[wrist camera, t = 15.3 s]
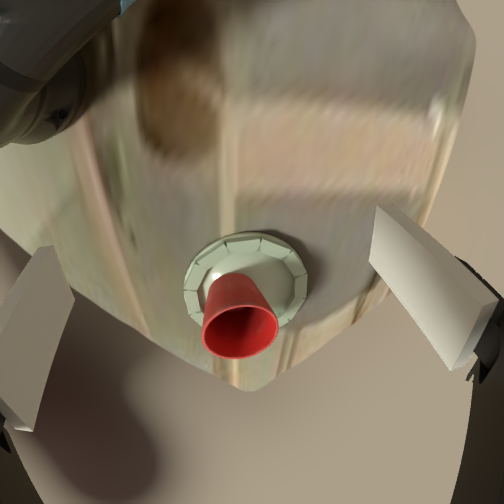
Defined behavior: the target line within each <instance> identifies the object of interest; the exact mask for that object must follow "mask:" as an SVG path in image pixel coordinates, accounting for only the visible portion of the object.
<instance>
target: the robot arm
mask: <svg viewBox="0 0 504 504" xmlns="http://www.w3.org/2000/svg"><path fill="white" fill-rule="evenodd" d="M135 1H136V0H0V148H2V147H4V146H5V145H7V144H9V143H17V144H25V145H28V144H36V143H40V142H42V141H45V140H47V139H49V138H51V137H53V136H55V135H56V134H58V133H59V132H61V131H62V130H63V129H64V128H65V127H66V126H67V125H68V124H69V123H70V122H71V120H72V119H73V118H74V116H75V115H76V113H77V111H78V109H79V107H80V105H81V102H82V99H83V95H84V91H85V82H86V76H85V68H84V64H83V61H82V58H81V56H80V54H79V52H78V51H79V50H80V49H81V48H82V47H83V46H84V45H85V44H86V43H87V42H88V41H89V40H90V39H91V38H92V37H93V36H95V35H96V34H97V33H98V32H99V31H100V30H101V29H102V28H104V27H105V26H106V25H107V24H108V23H109V22H111V21H112V20H113V19H114V18H116V17H120V16H122V15H123V14H124V12H125V11H126V9H127V8H128V7H129V6H130V5H132V4H133V3H134V2H135ZM369 262H370V264H371V265H372V266H373V267H374V269H375V270H376V271H377V272H378V274H379V275H380V276H381V277H382V279H383V280H384V281H385V282H386V284H387V285H388V286H389V288H390V289H391V290H392V291H393V293H394V294H395V295H396V297H397V298H398V299H399V301H400V302H401V303H402V304H403V306H404V307H405V308H406V310H407V311H408V312H409V314H410V315H411V316H412V318H413V319H414V321H415V322H416V323H417V325H418V326H419V327H420V329H421V330H422V331H423V333H424V334H425V336H426V337H427V338H428V340H429V341H430V343H431V344H432V346H433V347H434V348H435V350H436V351H437V353H438V354H439V356H440V357H441V358H442V360H443V361H444V363H445V364H446V366H447V367H448V369H449V370H450V371H452V370H454V369H457V368H459V367H461V366H464V365H465V364H467V362H468V361H469V359H470V357H471V355H472V353H473V352H475V354H476V355H477V356H478V359H477V361H476V362H475V364H474V366H473V367H472V369H471V371H470V372H469V374H468V376H467V378H466V381H469V379H470V378H471V376H472V375H473V374H474V380H473V381H472V382H473V391H472V400H471V408H470V416H469V422H468V429H467V435H466V440H465V446H464V451H463V456H462V460H461V465H460V469H459V473H458V477H457V482H456V485H455V489H454V492H453V496H452V499H451V503H450V504H504V298H503V297H502V296H501V295H500V294H499V293H497V291H496V290H495V289H494V288H493V287H492V286H491V285H490V284H489V283H488V282H487V281H485V279H482V277H481V276H480V275H479V274H478V273H476V272H475V270H474V269H473V268H472V267H471V266H470V265H469V264H468V263H466V262H465V261H463V260H461V259H459V258H458V257H456V256H453V255H452V254H451V253H450V252H449V251H448V250H447V249H446V248H444V247H443V246H442V245H441V244H440V243H439V242H437V241H436V240H435V239H434V238H433V237H432V236H431V235H430V234H428V233H427V232H426V231H425V230H424V229H423V228H421V227H420V226H419V225H418V224H417V223H415V222H414V221H413V220H412V219H411V218H409V217H408V216H407V215H406V214H404V213H403V212H402V211H401V210H399V209H398V208H397V207H396V206H394V205H393V204H380V205H377V206H376V215H375V223H374V230H373V237H372V244H371V251H370V257H369ZM74 301H75V299H74V297H73V294H72V292H71V289H70V287H69V285H68V282H67V280H66V277H65V275H64V272H63V270H62V267H61V264H60V262H59V259H58V256H57V254H56V251H55V248H54V245H52V246H46V247H40V248H38V249H37V251H36V252H35V254H34V255H33V256H32V258H31V259H30V261H29V262H28V264H27V265H26V267H25V268H24V270H23V271H22V273H21V274H20V276H19V277H18V279H17V280H16V282H15V283H14V285H13V287H12V288H11V290H10V291H9V293H8V295H7V296H6V298H5V299H4V301H3V303H2V304H1V306H0V504H44V503H43V501H42V500H41V498H40V496H39V495H38V493H37V491H36V489H35V487H34V485H33V484H32V482H31V480H30V478H29V476H28V474H27V472H26V470H25V468H24V466H23V464H22V462H21V460H20V458H19V455H18V453H17V451H16V449H15V447H14V445H13V442H12V440H11V437H10V435H9V433H8V432H7V430H6V429H5V428H4V427H3V426H4V422H5V419H6V420H7V421H8V422H9V423H10V424H11V425H12V426H13V427H14V428H15V429H18V430H25V431H33V429H34V425H35V421H36V417H37V413H38V409H39V405H40V401H41V397H42V394H43V391H44V387H45V384H46V380H47V377H48V374H49V371H50V368H51V364H52V361H53V358H54V355H55V352H56V349H57V346H58V344H59V341H60V338H61V335H62V332H63V330H64V327H65V324H66V322H67V319H68V316H69V314H70V311H71V308H72V306H73V303H74Z"/></svg>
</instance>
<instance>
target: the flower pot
mask: <svg viewBox="0 0 504 504" xmlns="http://www.w3.org/2000/svg"><path fill="white" fill-rule="evenodd" d="M278 329H279V323H278V319H277V317H276V315H275V313H274V312H273V310H272V308H271V307H270V305H269V304H268V302H267V301H266V299H265V298H264V296H263V295H262V293H261V292H260V290H259V289H258V287H257V286H256V285H255V283H254V282H253V281H252V280H251V279H250V278H249V277H248V276H246V275H243V274H239V273H231V274H225V275H222V276H220V277H219V278H217V279H216V280H215V281H214V282H213V283H212V284H211V286H210V288H209V291H208V295H207V300H206V305H205V311H204V317H203V324H202V334H201V337H202V342H203V344H204V346H205V348H206V349H207V350H208V351H209V352H211V353H212V354H214V355H216V356H218V357H221V358H226V359H242V358H247V357H251V356H254V355H256V354H258V353H260V352H262V351H263V350H265V349H266V348H267V347H269V346H270V345H271V344H272V342H273V341H274V340H275V338H276V336H277V334H278Z"/></svg>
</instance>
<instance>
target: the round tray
mask: <svg viewBox="0 0 504 504" xmlns="http://www.w3.org/2000/svg"><path fill="white" fill-rule="evenodd" d="M231 273H239V274H243V275H246V276H248V277H249V278H250V279H251V280H252V281H253V282H254V283H255V285H256V286H257V287H258V289H259V290H260V292H261V293H262V295H263V296H264V298H265V299H266V301H267V302H268V304H269V305H270V307H271V308H272V310H273V312H274V313H275V315H276V317H277V319H278V323H279V327H281V326H282V325H284V324H286V323H287V322H289V319H290V320H291V319H292V318H293V316H294V315H295V314H296V312H297V311H298V309H299V308H300V307H301V305H302V304H303V302H304V301H305V298H306V293H307V276H308V274H307V271H306V269H305V267H304V265H303V263H302V261H301V259H300V257H299V255H298V254H297V252H296V251H295V250H294V249H293V248H292V247H291V246H290V245H289V244H288V243H286V242H285V241H283V240H282V239H279V238H277V237H275V236H272V235H269V234H265V233H260V232H241V233H235V234H231V235H227V236H224V237H222V238H220V239H217V240H215V241H214V242H212V243H210V244H208V245H207V246H206V247H205V248H203V249H202V250H201V251H200V252H199V253H198V254H197V255H196V256H195V258H194V259H193V260H192V262H191V263H190V265H189V267H188V269H187V272H186V275H185V279H184V297H185V301H186V304H187V309H188V313H189V314H190V317H192V318H193V319H194V320H195V321H196V322H197V323H198V324H199V325H200V326H202V324H203V317H204V311H205V305H206V300H207V295H208V291H209V288H210V286H211V284H212V283H213V282H214V281H215V280H216V279H217V278H219V277H220V276H222V275H225V274H231Z"/></svg>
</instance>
